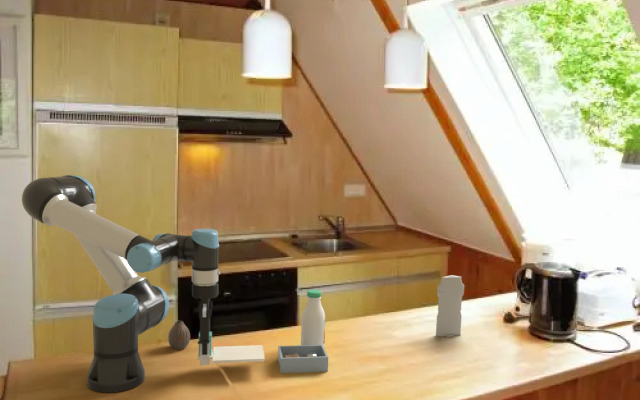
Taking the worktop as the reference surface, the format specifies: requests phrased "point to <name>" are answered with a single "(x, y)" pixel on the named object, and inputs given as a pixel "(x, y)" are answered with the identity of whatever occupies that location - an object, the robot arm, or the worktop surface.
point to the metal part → (311, 355)
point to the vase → (179, 336)
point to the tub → (302, 359)
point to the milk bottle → (313, 320)
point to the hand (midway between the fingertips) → (205, 360)
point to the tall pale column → (449, 306)
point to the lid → (235, 353)
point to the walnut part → (291, 355)
